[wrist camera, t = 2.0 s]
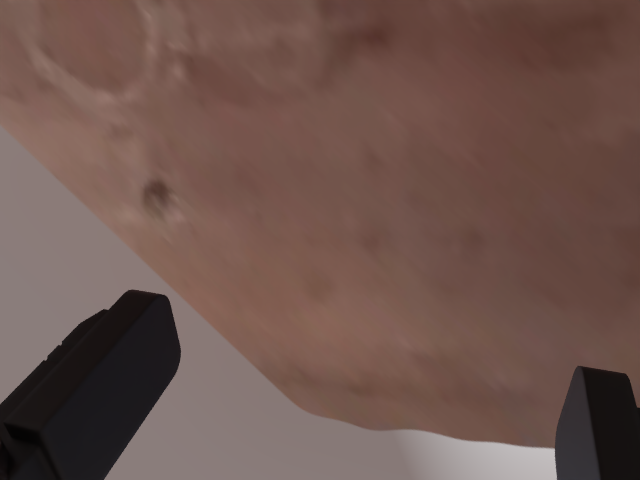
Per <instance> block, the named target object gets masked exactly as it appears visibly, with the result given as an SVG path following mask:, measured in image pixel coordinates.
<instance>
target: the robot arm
mask: <svg viewBox="0 0 640 480" xmlns="http://www.w3.org/2000/svg"><path fill="white" fill-rule="evenodd" d="M180 357H181V348H180V343H179V339H178V335H177V330H176V327H175V322H174V317H173V314H172V309H171V305H170V301H169V299H168V298H167V297H166V296H165V295H162V294H156V293H151V292H145V291H139V290H129V291H127V292H125V293H124V294H123V295H122V296H121V297H120V298H119V300H117V302H116V303H115V304H114V305H113V306H112V307H111V308H110V309H109V310H105V309H103V310H102V311H100V312H98V313H97V314H95V315H93V316H92V317H90V318H88V319H86V320H85V321H83V322H81V323H80V324H79V325H78V326H77V327H76V328H75V329H74V330H73V331H72V332H71V333H70V334H69V335H68V336H67V337H66V338H65V339H64V340H63V341H62V345H61V346H60V345H58V346H57V347H56V348H55V349H54V350H53V351H52V352H51V353H50V354H49V355H48V358H47V360H46V361H44V360H43V361H42V362H41V364H40V365H39V366H38V367H37V368H36V369H35V370H34V371H33V372H32V373H31V374H30V375H29V376H28V377H27V378H26V379H25V380H24V381H23V382H22V383H21V384H20V385H19V386H18V387H17V388H16V389H15V390H14V391H13V392H12V393H11V394H10V395H9V396H8V397H7V398H6V399H5V400H4V401H3V402H2V403H1V404H0V480H104V479H105V477H106V476H107V474H108V473H109V471H110V470H111V468H112V467H113V465H114V464H115V462H116V461H117V459H118V458H119V456H120V455H121V454H122V452H123V451H124V449H125V448H126V446H127V445H128V443H129V442H130V440H131V439H132V437H133V436H134V435H135V433H136V432H137V430H138V429H139V427H140V426H141V424H142V423H143V421H144V420H145V418H146V417H147V415H148V414H149V412H150V411H151V410H152V408H153V407H154V405H155V403H156V402H157V401H158V399H159V397H160V396H161V395H162V393H163V392H164V390H165V389H166V387H167V386H168V385H169V383H170V382H171V380H172V379H173V377H174V375H175V373H176V372H177V369H178V366H179V362H180ZM555 461H556V472H557V480H640V408H637V406H636V402H635V398H634V395H633V391H632V387H631V383H630V380H629V378H628V376H627V375H626V374H624V373H618V372H612V371H606V370H601V369H595V368H589V367H583V366H578V367H577V368H576V369H575V371H574V374H573V377H572V380H571V384H570V387H569V390H568V393H567V396H566V399H565V403H564V406H563V409H562V412H561V415H560V418H559V422H558V426H557V431H556V440H555Z"/></svg>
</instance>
